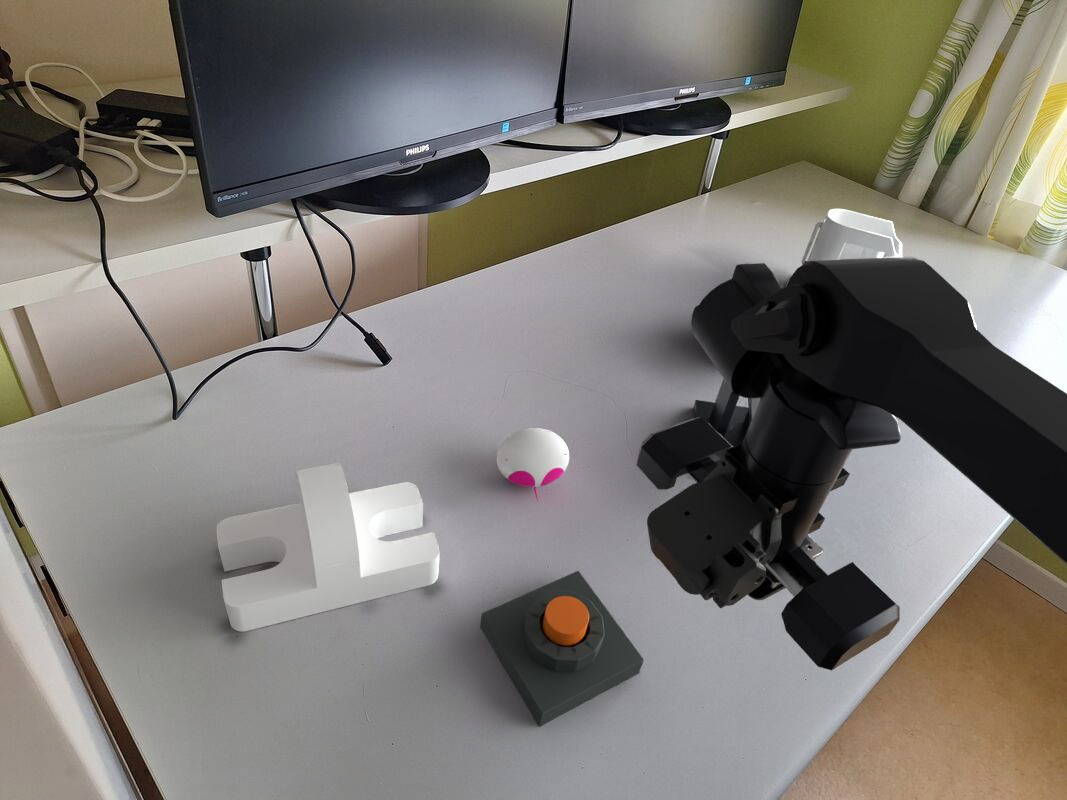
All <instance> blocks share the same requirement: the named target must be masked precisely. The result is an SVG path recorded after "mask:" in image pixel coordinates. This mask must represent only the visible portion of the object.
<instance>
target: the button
mask: <svg viewBox="0 0 1067 800" xmlns="http://www.w3.org/2000/svg"><path fill="white" fill-rule="evenodd" d="M588 622H589V613H588V610H587V608H586V607H585V605H584V604H583V603H582V602H581V601H579V600H578V599H576V598H573V597H570V596H560V597H557V598H555V599H553V600H552V601H550V602H549V604H548V605H547V607H546V610H545V615H544V620H543V629H544V632H545V634H546V636H547V637H548V638H549V639H550V640H551V641H552V642H554V643H556V644H558V645H562V646H571V645H574V644H577V643H578V642H580V641H581V640H582V639H583V637H584V635H585V632H586V629H587V625H588Z"/></svg>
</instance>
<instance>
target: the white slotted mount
mask: <svg viewBox="0 0 1067 800" xmlns="http://www.w3.org/2000/svg"><path fill="white" fill-rule="evenodd" d="M346 479H347V478H346V476H345V473H344V470H343V467H342V464H341V463H340V462H334V463H329V464H324V465H319V466H313V467H308V468H301V469H295V481H296V488H297V496H298V503H293V504H288V505H284V506H283V505H282V506H279V507H274V508H273V507H272V508H269V509H264V510H259V511H254V512H249V513H244V514H239V515H238V514H237V515H233V516H229V517H226V518H224V519H222V520H221V521H219V522H218V524H217V525H216V529H215V532H216V538H217V539H216V540H217V548H218V552H219V555H220V560H221V563H222V568H223V572H230V571H234V570H238V569H243V568H247V567H252V566H257V565H261V564H265V563H271V562H272V563H273V562H274V563H278V564H277V565H275V566H273V567H270V568H267V569H263V570H259V571H255V572H250V573H246V574H242V575H237V576H233V577H229V578H228V577H227V578H224V579H221V588H222V597H223V602H224V605H225V610H226V613H227V617H228V620H229V624H230V626H231V628H232V629H233V630H235V631H237V632H239V633H240V632H242V633H243V632H249V631H252V630H253V631H254V630H258V629H260V628H264V627H269V626H272V625H273V626H274V625H277V624H280V623H285V622H289V621H292V620H296V619H300V618H304V617H309V616H312V615H317V614H320V613H324V612H329V611H333V610H336V609H340V608H345V607H349V606H352V605H356V604H360V603H364V602H368V601H373V600H376V599H379V598H384V597H388V596H392V595H397V594H400V593H404V592H405V593H406V592H409V591H412V590H416V589H420V588H425V587H428V586H432V585H433V584H435V583H436V582H437V581H438V578H439V572H440V571H439V569H440V554H441V553H440V551H441V550H440V549H441V548H440V546H439V543H438V540H437V537H436V535H435V532H434V531H432V532H428V533H423V534H419V535H414V536H409V537H405V538H400V539H396V540H389V541H387V540H382V539H381V538H383V537H387V536H391V535H395V534H400V533H404V532H409V531H414V530H417V529H422V528H423V525H424V524H423V523H424V520H423V519H424V501H423V499H422V496H421V493H420V490H419V488H418V486H417V485H416V484H414V483H413V482H408V481H403V482H399V483H398V482H397V483H394V484H393V483H392V484H388V485H383V486H379V487H373V488H369V489H368V488H367V489H362V490H358V491H353V492H350V491H349V488H348V484H347V480H346Z"/></svg>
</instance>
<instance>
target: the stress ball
mask: <svg viewBox="0 0 1067 800" xmlns="http://www.w3.org/2000/svg"><path fill="white" fill-rule="evenodd" d="M569 462H570V451H569V448H568V445H567V444H566V442H565V440H564V439H563V437H561V436H559V434H557V433H555V432H553V430H550V429H546V428H542V427H528V428H527V427H525V428H522V429H520V430H516V431H514V432H512V433H511V434H509V435H508V436H506V438H504V439H503V440H502V442H501V443H500V445H499V446H498V449H497V452H496V465H497V467H498V470H499V472H500V474H501V475H502V476H503V477H504V478H505V479H507V480H508V481H509V482H511V483H512V484H515V485H518V486H520V487H526V488H533V491H534V495H535V498H536V501H537V503H538V504H540V503H539V498H538V492H537V488H539V487H542V486H546V485H549V484H551V483H553V482H555V481H556V480H558V479H559V478H560V477H561V476H562V475H563V474H564V473H565V471H567V468H568V466H569Z"/></svg>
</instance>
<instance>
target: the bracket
mask: <svg viewBox="0 0 1067 800" xmlns="http://www.w3.org/2000/svg"><path fill="white" fill-rule="evenodd" d="M722 378H723V377H722ZM739 399H740V396H739V395H737V394H734V393H733V391H732V390H731V388H730V387H729V385H728V384H727V382H726V381H725V380H724V378H723V379H722V381H721V384H720V386H719V390H718V393H717V396H716V397H715V402H713V401H707V400H700V399H695V400H694V404H693V405H692V406H693V407H692V408H693V418H698V417H702V418H703V419H704V420H705V421H706V422H707V423H709V424H710V425H711V426H712V427H713V428H714V429H715V430H716V431H717V432H718V433H719V434H720V435H721V436H722V437H723V438H724V439H725V440H726V441H727V442H728V443H729V444H730V445H731V446H733V447H735V446H738V445H740V444H742V443H743V440H744V438H745V435H746V433H747V431H748V428H749V426H750V424H749V408H748V406H740V405H737V404H738V401H739Z"/></svg>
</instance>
